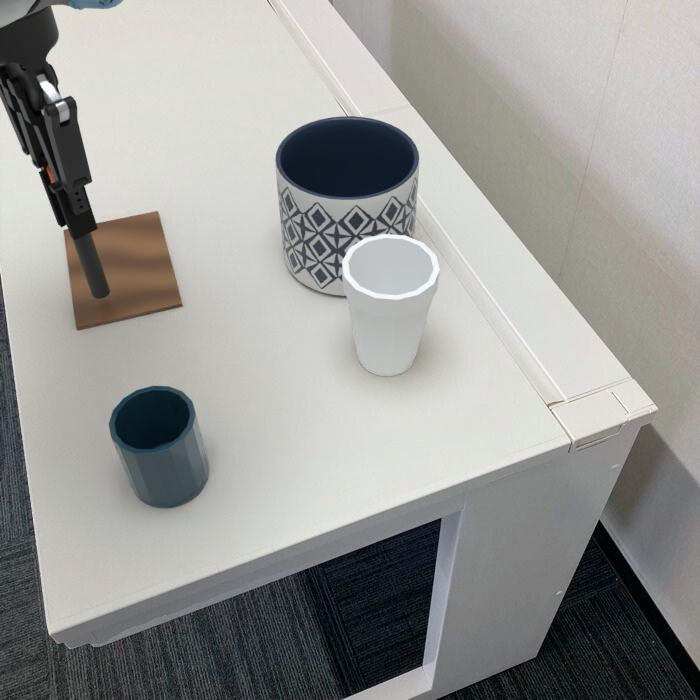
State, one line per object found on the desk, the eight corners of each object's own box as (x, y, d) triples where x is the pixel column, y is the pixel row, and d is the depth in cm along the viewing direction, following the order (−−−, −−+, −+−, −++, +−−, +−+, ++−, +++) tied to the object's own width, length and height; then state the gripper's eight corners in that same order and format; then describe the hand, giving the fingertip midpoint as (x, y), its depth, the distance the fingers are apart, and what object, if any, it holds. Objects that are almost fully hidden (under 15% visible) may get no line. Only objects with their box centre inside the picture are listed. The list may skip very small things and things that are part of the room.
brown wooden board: (182, 306, 89) (182, 303, 89) (77, 330, 87) (75, 327, 87) (158, 213, 101) (157, 210, 100) (64, 232, 98) (63, 229, 98)
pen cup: (159, 523, 71) (138, 469, 64) (117, 472, 74) (93, 416, 68) (224, 476, 74) (211, 420, 67) (181, 430, 78) (164, 372, 71)
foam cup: (411, 315, 88) (418, 226, 78) (443, 374, 82) (455, 285, 73) (332, 335, 86) (329, 246, 76) (359, 396, 80) (359, 308, 71)
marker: (97, 301, 86) (53, 175, 74) (88, 292, 87) (42, 166, 75) (114, 293, 87) (72, 166, 75) (104, 283, 88) (62, 157, 76)
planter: (413, 216, 100) (420, 117, 89) (412, 302, 90) (419, 202, 79) (291, 211, 101) (283, 113, 90) (276, 296, 90) (265, 197, 80)
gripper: (87, 15, 60) (148, 245, 78) (0, -42, 68) (74, 179, 86) (-3, 47, 57) (82, 280, 75) (-84, -17, 65) (10, 208, 82)
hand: (77, 226), depth 80 cm, fingers closed on marker, 2 cm apart
